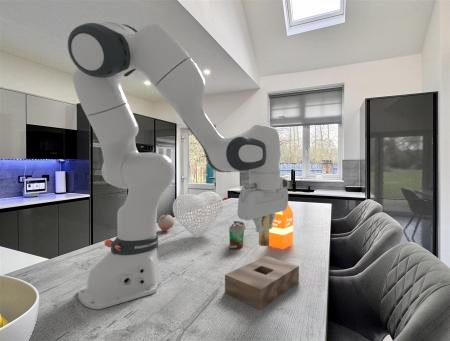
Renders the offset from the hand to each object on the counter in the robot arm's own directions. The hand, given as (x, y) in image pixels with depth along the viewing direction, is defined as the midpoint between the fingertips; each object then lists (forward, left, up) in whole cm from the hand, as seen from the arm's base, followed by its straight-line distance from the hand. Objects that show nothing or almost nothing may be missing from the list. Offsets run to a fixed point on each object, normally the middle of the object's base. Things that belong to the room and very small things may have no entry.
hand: (264, 230), depth 72 cm
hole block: (0, 0, -17) cm, 17 cm away
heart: (+20, +52, -17) cm, 58 cm away
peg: (0, 0, -4) cm, 4 cm away
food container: (+23, +29, -17) cm, 41 cm away
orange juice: (+38, +17, -17) cm, 45 cm away
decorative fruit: (+15, +73, -17) cm, 77 cm away
